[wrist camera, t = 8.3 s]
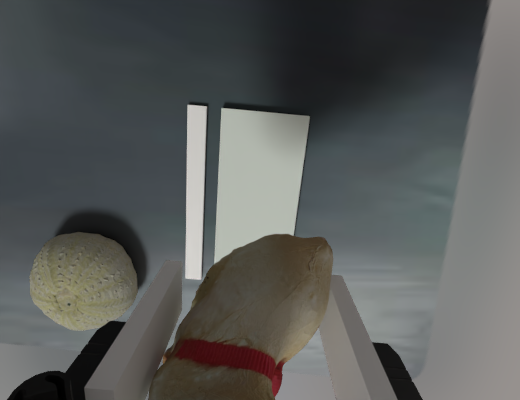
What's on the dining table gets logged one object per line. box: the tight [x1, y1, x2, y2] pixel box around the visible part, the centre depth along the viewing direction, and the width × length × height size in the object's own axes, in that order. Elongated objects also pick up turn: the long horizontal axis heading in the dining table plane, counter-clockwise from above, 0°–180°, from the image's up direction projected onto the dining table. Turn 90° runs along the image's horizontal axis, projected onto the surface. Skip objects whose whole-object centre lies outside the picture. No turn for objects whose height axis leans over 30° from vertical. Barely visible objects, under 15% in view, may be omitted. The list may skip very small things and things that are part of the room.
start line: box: [185, 105, 207, 280], centre depth 26 cm, size 16×2×1 cm, turn 175°
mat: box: [214, 108, 310, 264], centre depth 26 cm, size 16×7×1 cm, turn 175°
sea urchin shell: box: [29, 232, 138, 331], centre depth 27 cm, size 9×8×8 cm
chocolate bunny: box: [148, 234, 333, 400], centre depth 10 cm, size 6×8×10 cm
